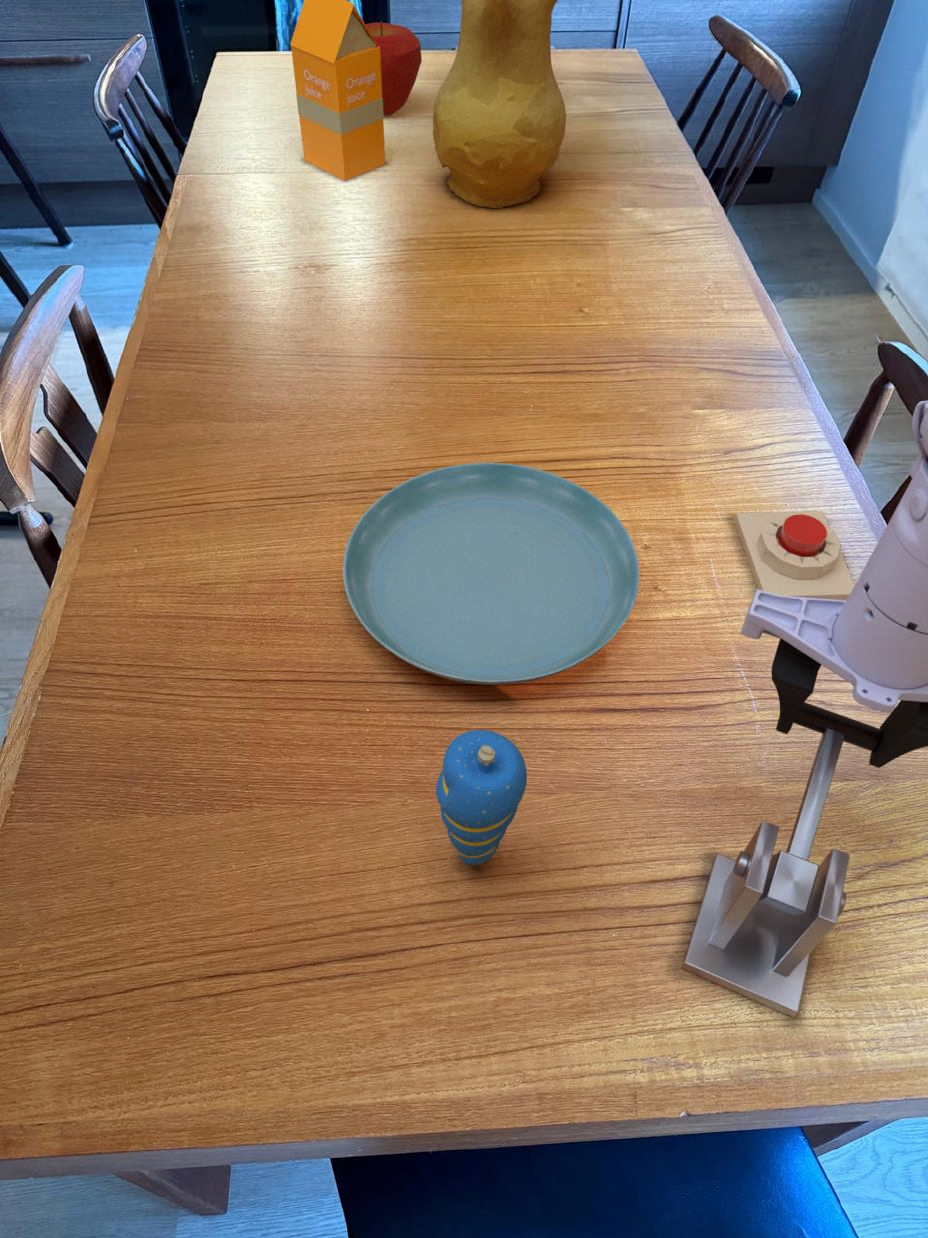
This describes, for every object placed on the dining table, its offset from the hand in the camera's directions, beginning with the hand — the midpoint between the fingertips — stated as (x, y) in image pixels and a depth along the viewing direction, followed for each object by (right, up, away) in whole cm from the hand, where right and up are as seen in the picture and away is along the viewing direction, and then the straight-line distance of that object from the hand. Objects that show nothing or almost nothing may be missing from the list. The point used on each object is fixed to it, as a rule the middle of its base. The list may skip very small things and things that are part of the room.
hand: (829, 736), depth 55 cm
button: (+6, +14, +22) cm, 27 cm away
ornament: (-22, -9, +5) cm, 24 cm away
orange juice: (-39, +71, +71) cm, 108 cm away
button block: (+6, +13, +23) cm, 27 cm away
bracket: (-4, -13, +2) cm, 14 cm away
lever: (-2, -4, -1) cm, 5 cm away
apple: (-34, +85, +82) cm, 123 cm away
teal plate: (-20, +10, +21) cm, 31 cm away
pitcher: (-18, +67, +68) cm, 96 cm away
